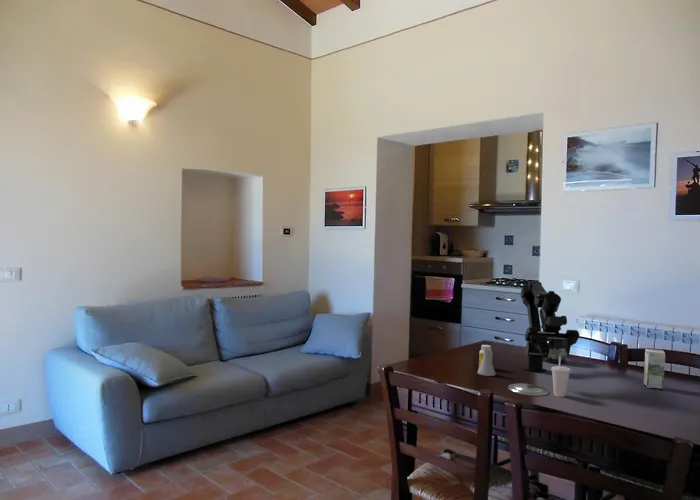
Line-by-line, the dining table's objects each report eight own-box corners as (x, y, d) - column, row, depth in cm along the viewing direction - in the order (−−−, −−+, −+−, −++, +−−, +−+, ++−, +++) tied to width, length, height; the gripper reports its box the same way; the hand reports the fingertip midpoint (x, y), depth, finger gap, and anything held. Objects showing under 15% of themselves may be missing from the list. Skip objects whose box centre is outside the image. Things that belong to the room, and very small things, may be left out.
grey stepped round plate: (521, 382, 197) (521, 379, 197) (555, 391, 187) (555, 389, 187) (500, 388, 188) (500, 385, 188) (535, 398, 178) (535, 395, 178)
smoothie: (546, 392, 186) (548, 354, 185) (563, 392, 186) (565, 354, 186) (555, 398, 179) (557, 358, 179) (572, 398, 180) (574, 358, 179)
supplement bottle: (491, 370, 214) (492, 347, 214) (477, 368, 216) (478, 346, 216) (492, 367, 219) (493, 345, 219) (479, 366, 221) (480, 343, 221)
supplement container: (544, 357, 243) (546, 332, 243) (568, 361, 237) (569, 335, 237) (538, 361, 235) (539, 335, 234) (562, 365, 228) (564, 338, 228)
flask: (496, 377, 204) (497, 352, 204) (477, 375, 205) (478, 350, 205) (494, 372, 211) (495, 348, 211) (476, 371, 212) (477, 347, 212)
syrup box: (659, 386, 200) (661, 349, 199) (663, 390, 194) (665, 352, 194) (643, 384, 202) (645, 347, 201) (646, 388, 196) (648, 350, 196)
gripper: (528, 306, 196) (533, 340, 185) (579, 309, 194) (587, 343, 183) (522, 323, 204) (527, 357, 193) (571, 326, 202) (579, 360, 191)
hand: (555, 354), depth 190 cm, fingers open, 9 cm apart
